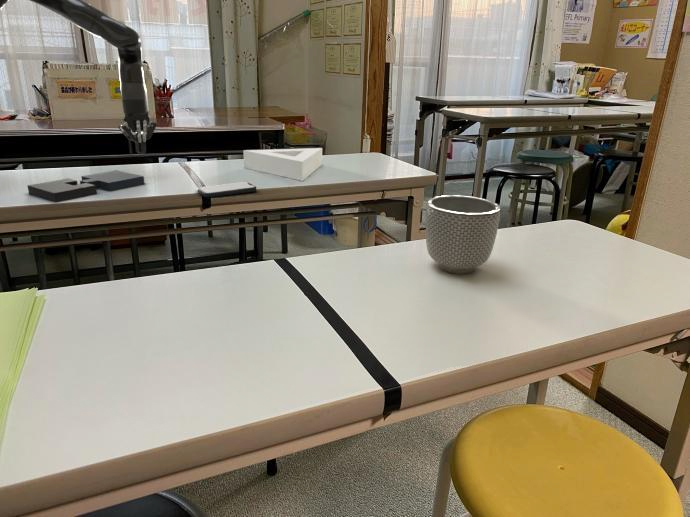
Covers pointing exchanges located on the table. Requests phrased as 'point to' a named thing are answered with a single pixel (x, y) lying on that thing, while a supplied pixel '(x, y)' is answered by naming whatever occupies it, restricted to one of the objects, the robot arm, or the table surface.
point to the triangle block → (284, 161)
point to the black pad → (61, 190)
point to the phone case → (226, 189)
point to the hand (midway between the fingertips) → (141, 153)
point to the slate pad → (113, 180)
